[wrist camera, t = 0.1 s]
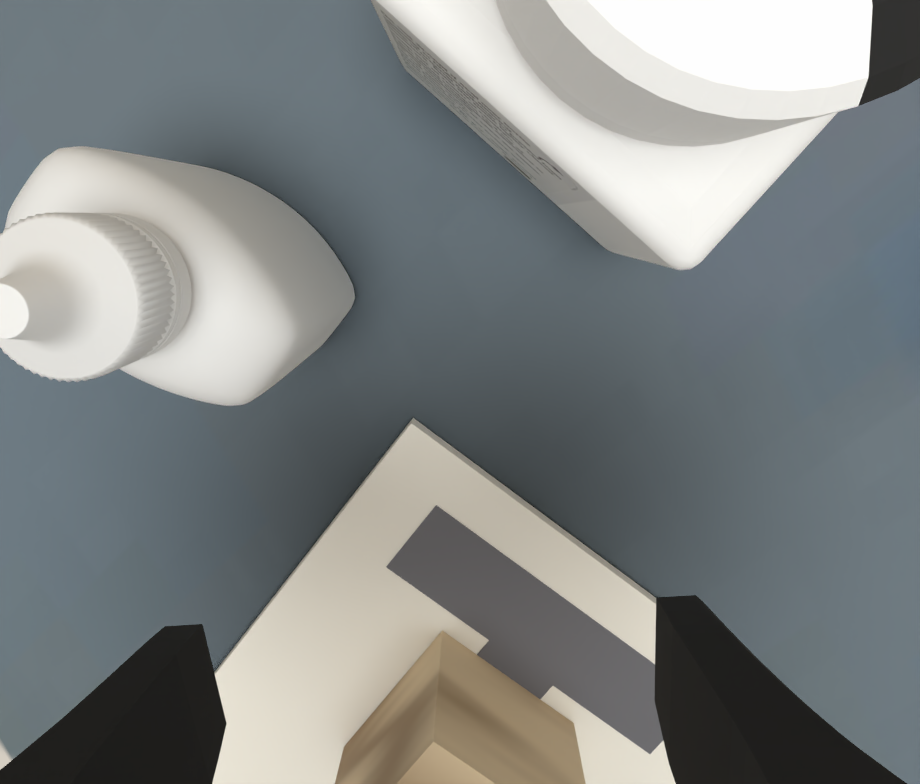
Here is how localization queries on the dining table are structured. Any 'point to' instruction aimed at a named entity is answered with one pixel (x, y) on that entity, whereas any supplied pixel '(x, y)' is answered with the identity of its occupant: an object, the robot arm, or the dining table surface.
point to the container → (654, 98)
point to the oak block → (461, 729)
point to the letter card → (440, 624)
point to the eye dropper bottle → (163, 277)
